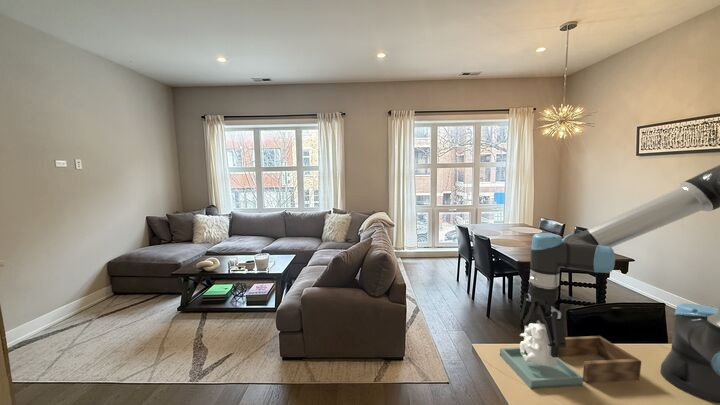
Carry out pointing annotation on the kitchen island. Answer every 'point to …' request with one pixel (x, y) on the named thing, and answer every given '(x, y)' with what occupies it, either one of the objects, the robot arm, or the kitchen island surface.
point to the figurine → (535, 344)
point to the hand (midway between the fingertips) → (539, 354)
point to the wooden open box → (608, 370)
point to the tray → (540, 371)
